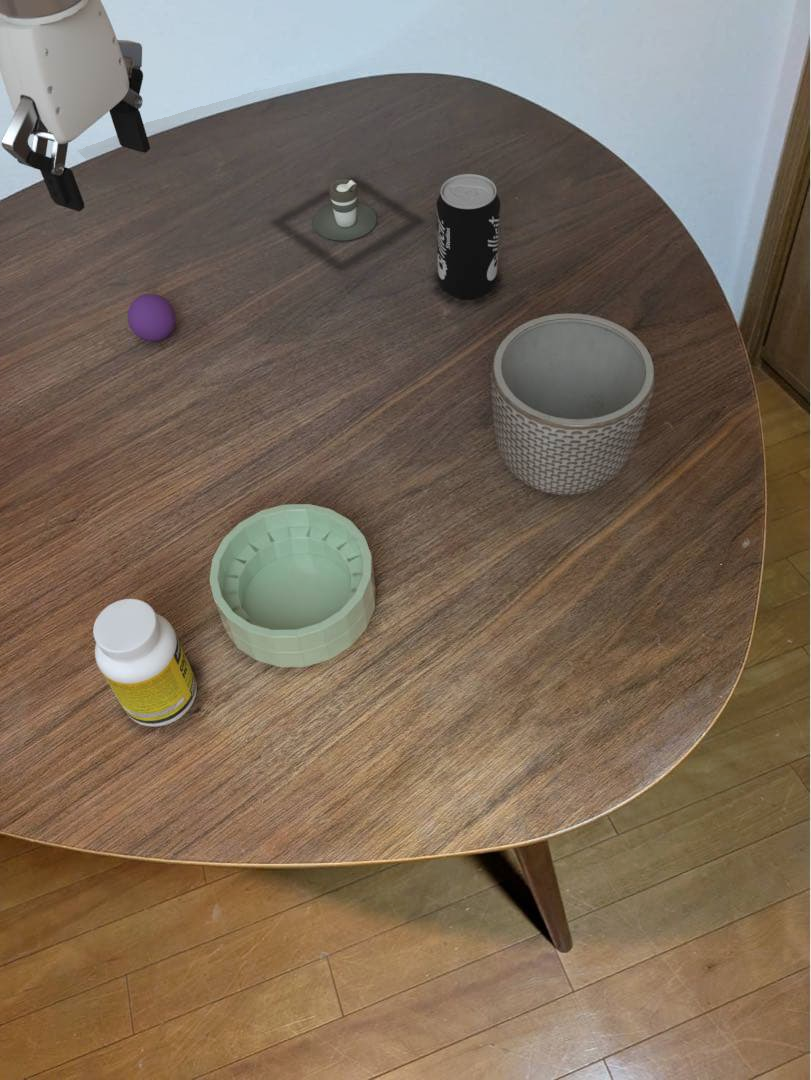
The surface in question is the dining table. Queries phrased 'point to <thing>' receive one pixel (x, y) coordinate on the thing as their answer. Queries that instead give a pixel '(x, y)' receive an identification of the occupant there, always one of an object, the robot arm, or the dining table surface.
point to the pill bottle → (143, 663)
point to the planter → (569, 401)
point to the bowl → (294, 584)
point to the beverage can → (468, 236)
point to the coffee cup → (344, 214)
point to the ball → (151, 317)
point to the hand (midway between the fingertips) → (103, 176)
